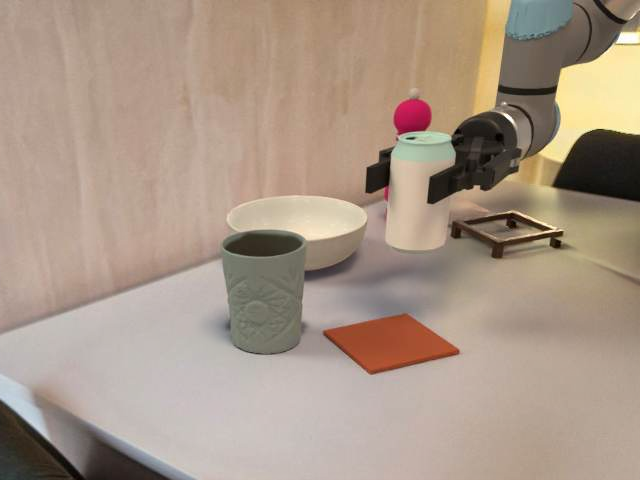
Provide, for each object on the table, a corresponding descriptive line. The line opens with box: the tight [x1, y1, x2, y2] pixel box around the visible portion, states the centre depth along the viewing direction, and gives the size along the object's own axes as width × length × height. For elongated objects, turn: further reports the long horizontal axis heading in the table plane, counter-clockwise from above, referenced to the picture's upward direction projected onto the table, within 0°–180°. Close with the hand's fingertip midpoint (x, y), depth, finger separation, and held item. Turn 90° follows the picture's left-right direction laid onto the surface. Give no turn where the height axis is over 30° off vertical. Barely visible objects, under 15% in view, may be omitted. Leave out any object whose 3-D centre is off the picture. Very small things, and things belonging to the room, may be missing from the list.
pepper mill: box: [383, 87, 433, 221], centre depth 125 cm, size 7×7×20 cm
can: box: [384, 130, 456, 255], centre depth 87 cm, size 7×7×12 cm
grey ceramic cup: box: [219, 229, 307, 355], centre depth 91 cm, size 10×10×12 cm
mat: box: [322, 312, 461, 375], centre depth 93 cm, size 12×12×1 cm
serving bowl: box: [225, 194, 369, 272], centre depth 114 cm, size 21×21×7 cm
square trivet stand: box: [450, 209, 564, 259], centre depth 120 cm, size 12×12×2 cm
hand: (399, 185), depth 83 cm, fingers closed on can, 7 cm apart
